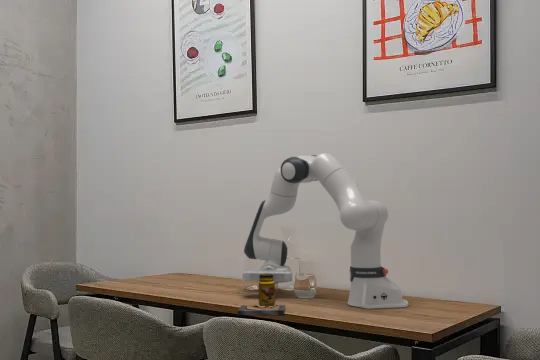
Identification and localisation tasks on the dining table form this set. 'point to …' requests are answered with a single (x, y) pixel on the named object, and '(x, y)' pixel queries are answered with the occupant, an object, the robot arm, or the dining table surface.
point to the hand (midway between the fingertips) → (266, 278)
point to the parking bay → (261, 311)
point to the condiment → (266, 290)
